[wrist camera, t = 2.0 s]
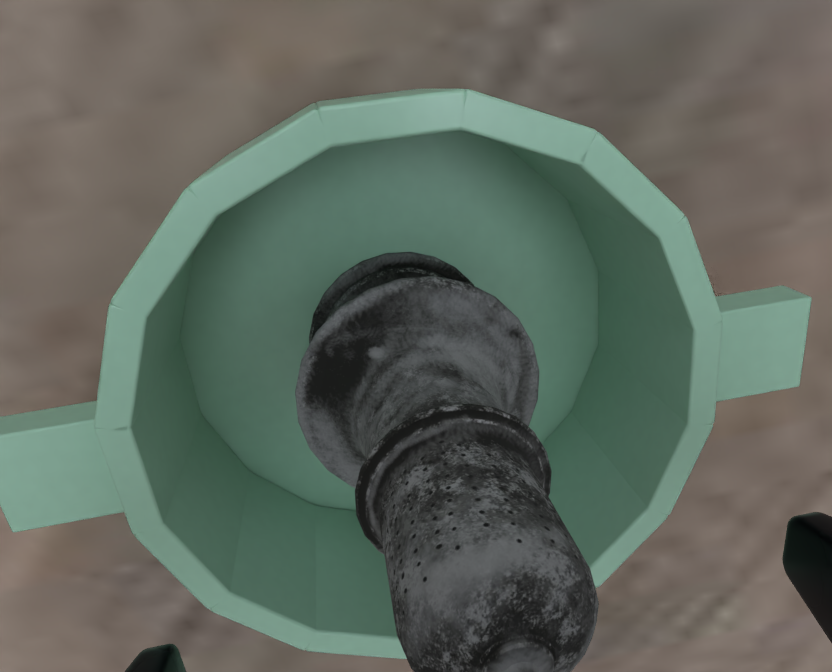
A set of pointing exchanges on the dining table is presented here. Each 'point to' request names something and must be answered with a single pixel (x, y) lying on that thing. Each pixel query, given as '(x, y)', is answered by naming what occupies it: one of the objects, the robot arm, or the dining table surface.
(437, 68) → the dining table surface
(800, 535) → the robot arm
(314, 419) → the dark grey tall piece
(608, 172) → the pot
